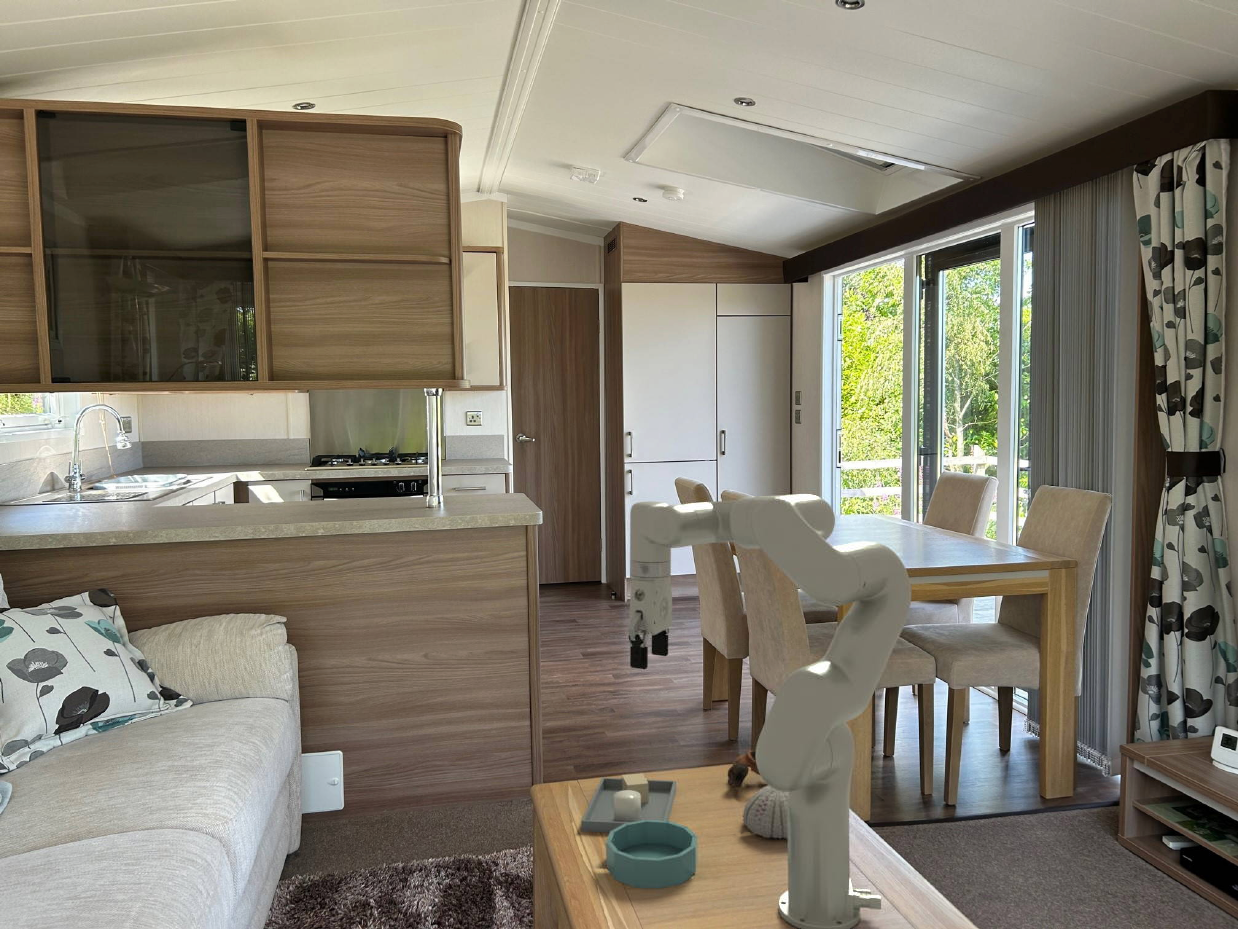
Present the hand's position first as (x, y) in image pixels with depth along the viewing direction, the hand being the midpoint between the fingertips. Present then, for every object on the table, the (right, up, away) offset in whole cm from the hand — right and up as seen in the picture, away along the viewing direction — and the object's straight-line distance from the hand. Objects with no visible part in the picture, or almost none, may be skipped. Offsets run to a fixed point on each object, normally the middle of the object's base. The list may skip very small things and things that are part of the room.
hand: (649, 661), depth 166 cm
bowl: (0, -34, -8) cm, 35 cm away
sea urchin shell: (+25, -34, +6) cm, 42 cm away
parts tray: (-3, -34, +15) cm, 37 cm away
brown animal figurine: (+22, -33, +27) cm, 48 cm away
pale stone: (-4, -33, +10) cm, 35 cm away
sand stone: (-2, -33, +20) cm, 39 cm away
